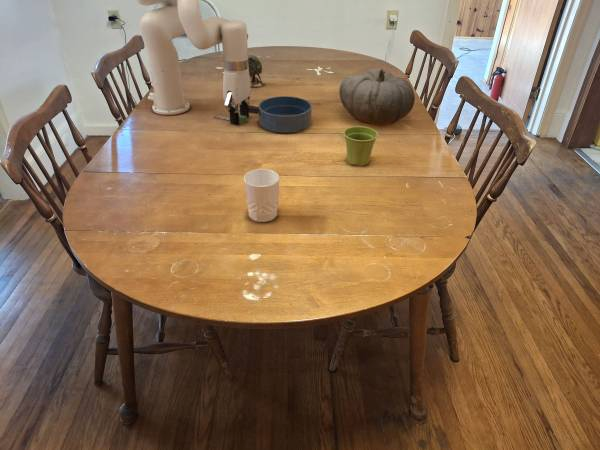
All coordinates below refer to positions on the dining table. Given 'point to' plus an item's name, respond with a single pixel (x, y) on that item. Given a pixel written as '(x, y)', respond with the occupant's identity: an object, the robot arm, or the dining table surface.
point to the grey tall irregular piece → (254, 70)
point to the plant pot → (359, 144)
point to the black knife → (251, 109)
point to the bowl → (285, 114)
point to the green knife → (241, 118)
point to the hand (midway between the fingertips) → (239, 119)
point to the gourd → (377, 97)
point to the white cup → (262, 194)
